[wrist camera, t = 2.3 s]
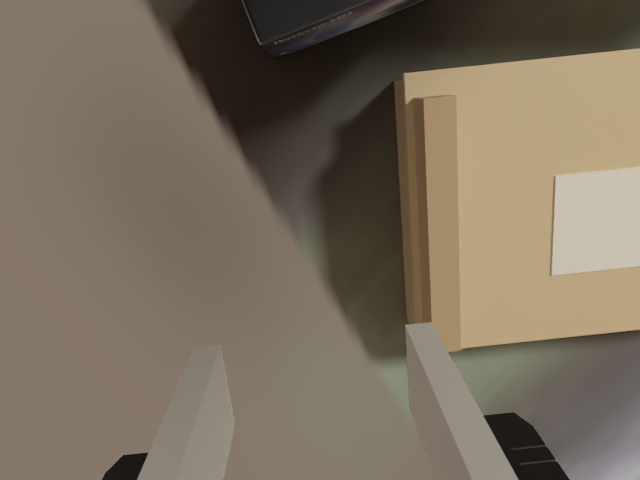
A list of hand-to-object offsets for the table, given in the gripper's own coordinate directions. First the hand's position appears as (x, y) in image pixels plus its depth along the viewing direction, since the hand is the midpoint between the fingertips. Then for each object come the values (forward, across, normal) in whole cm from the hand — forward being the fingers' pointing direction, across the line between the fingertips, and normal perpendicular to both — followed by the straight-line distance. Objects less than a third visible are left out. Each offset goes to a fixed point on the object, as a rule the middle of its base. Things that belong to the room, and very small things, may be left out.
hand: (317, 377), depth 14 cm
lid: (+15, +16, 0) cm, 22 cm away
